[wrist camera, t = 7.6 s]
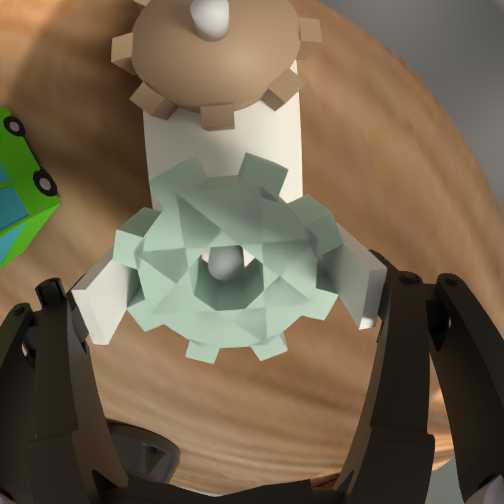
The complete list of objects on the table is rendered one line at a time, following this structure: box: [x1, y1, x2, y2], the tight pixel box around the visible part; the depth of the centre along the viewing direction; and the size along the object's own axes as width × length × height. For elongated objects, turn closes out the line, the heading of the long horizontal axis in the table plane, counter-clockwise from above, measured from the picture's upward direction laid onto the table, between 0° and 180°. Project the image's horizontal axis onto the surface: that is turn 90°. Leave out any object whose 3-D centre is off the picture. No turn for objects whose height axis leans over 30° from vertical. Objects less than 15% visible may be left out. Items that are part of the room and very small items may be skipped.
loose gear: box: [112, 152, 343, 364], centre depth 14 cm, size 10×10×4 cm
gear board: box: [111, 0, 322, 281], centre depth 14 cm, size 12×23×9 cm, turn 3°
